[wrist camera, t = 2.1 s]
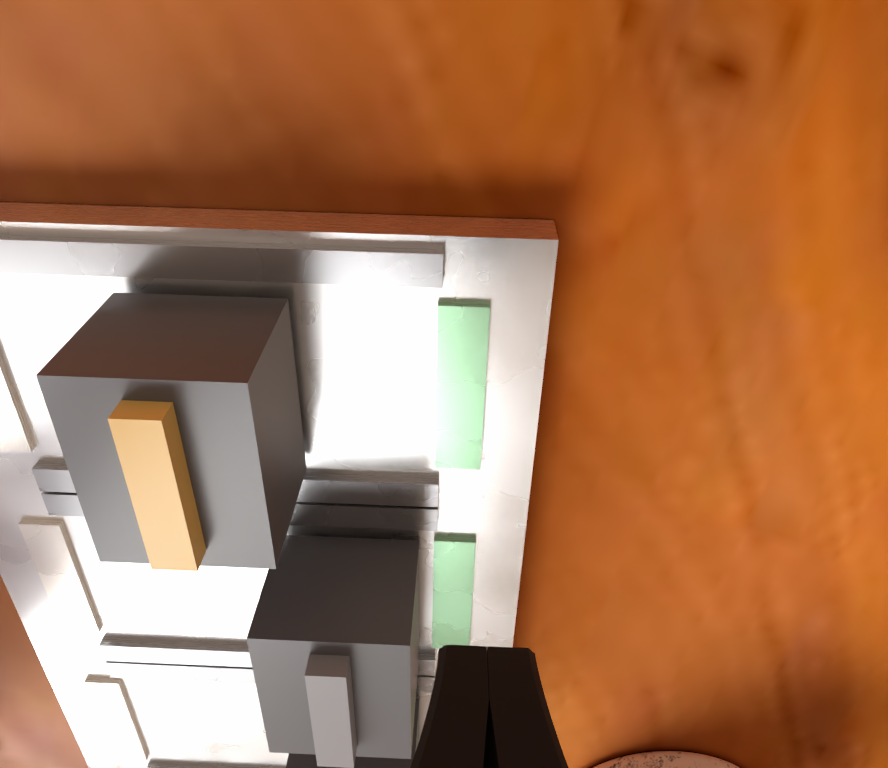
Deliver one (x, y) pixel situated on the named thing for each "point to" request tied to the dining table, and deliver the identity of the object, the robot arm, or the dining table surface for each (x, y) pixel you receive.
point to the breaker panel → (325, 442)
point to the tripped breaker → (181, 428)
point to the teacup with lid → (667, 761)
